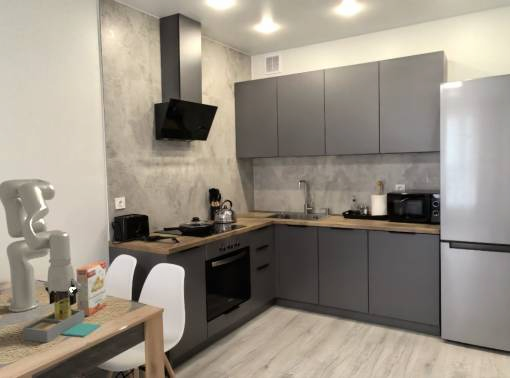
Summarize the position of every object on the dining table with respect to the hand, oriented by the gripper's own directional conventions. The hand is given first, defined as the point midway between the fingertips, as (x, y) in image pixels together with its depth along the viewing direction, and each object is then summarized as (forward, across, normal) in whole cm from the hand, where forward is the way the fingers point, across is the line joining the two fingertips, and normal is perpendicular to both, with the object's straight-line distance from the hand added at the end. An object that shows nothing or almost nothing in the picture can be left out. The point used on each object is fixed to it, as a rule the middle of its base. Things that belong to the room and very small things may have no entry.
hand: (63, 303), depth 162 cm
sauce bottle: (+10, 0, 0) cm, 10 cm away
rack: (+9, 0, -4) cm, 10 cm away
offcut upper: (+7, 0, -10) cm, 13 cm away
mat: (+10, +10, -3) cm, 14 cm away
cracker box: (+9, +1, +17) cm, 20 cm away
